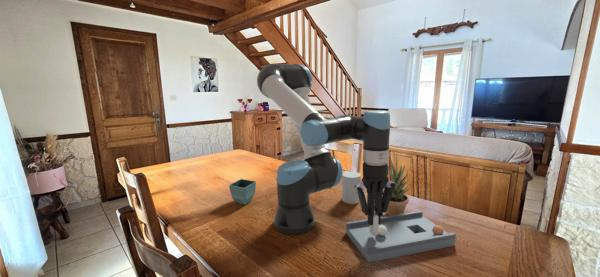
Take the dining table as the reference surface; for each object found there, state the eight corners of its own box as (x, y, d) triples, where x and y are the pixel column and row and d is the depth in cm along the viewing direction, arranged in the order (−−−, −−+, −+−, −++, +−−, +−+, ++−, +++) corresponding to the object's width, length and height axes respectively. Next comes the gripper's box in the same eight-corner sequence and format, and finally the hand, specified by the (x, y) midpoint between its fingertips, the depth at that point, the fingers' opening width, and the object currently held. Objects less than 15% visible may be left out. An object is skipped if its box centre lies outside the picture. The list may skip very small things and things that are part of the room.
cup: (360, 204, 110) (361, 178, 108) (341, 203, 112) (341, 177, 109) (360, 196, 118) (360, 171, 116) (342, 195, 120) (342, 171, 117)
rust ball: (436, 238, 80) (437, 229, 79) (429, 233, 83) (430, 224, 82) (445, 237, 81) (446, 228, 80) (437, 231, 84) (438, 222, 83)
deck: (368, 262, 74) (368, 250, 73) (345, 232, 89) (345, 222, 88) (454, 245, 80) (455, 234, 80) (420, 220, 96) (420, 210, 95)
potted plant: (379, 208, 106) (381, 150, 101) (402, 208, 106) (405, 150, 101) (386, 220, 96) (389, 157, 91) (412, 220, 96) (416, 157, 91)
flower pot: (257, 199, 118) (256, 181, 116) (246, 207, 110) (244, 188, 108) (242, 196, 121) (240, 178, 120) (230, 204, 114) (228, 185, 112)
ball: (379, 238, 81) (380, 229, 80) (374, 233, 84) (374, 224, 83) (388, 236, 82) (389, 227, 81) (383, 231, 85) (383, 222, 84)
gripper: (361, 167, 72) (360, 243, 77) (402, 163, 75) (398, 236, 79) (350, 160, 79) (350, 230, 84) (388, 157, 82) (385, 224, 87)
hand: (373, 233), depth 82 cm, fingers closed
